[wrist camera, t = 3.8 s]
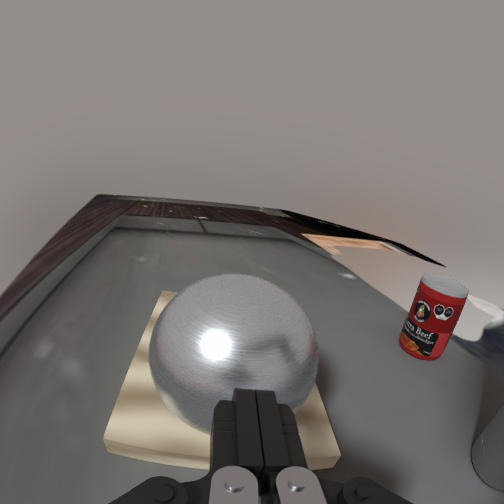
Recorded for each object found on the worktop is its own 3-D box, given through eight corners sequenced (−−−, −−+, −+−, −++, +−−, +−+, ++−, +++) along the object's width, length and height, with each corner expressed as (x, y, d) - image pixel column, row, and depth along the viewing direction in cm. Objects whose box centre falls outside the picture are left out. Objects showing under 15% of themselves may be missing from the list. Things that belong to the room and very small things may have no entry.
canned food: (388, 338, 42) (412, 271, 38) (419, 332, 44) (442, 272, 41) (419, 366, 35) (451, 294, 31) (449, 356, 37) (477, 292, 34)
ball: (321, 413, 23) (367, 294, 20) (225, 497, 14) (258, 369, 11) (224, 352, 31) (241, 242, 27) (124, 396, 22) (115, 263, 18)
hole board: (332, 467, 19) (341, 455, 19) (107, 452, 17) (103, 438, 17) (284, 317, 44) (287, 305, 43) (162, 302, 42) (162, 290, 41)
